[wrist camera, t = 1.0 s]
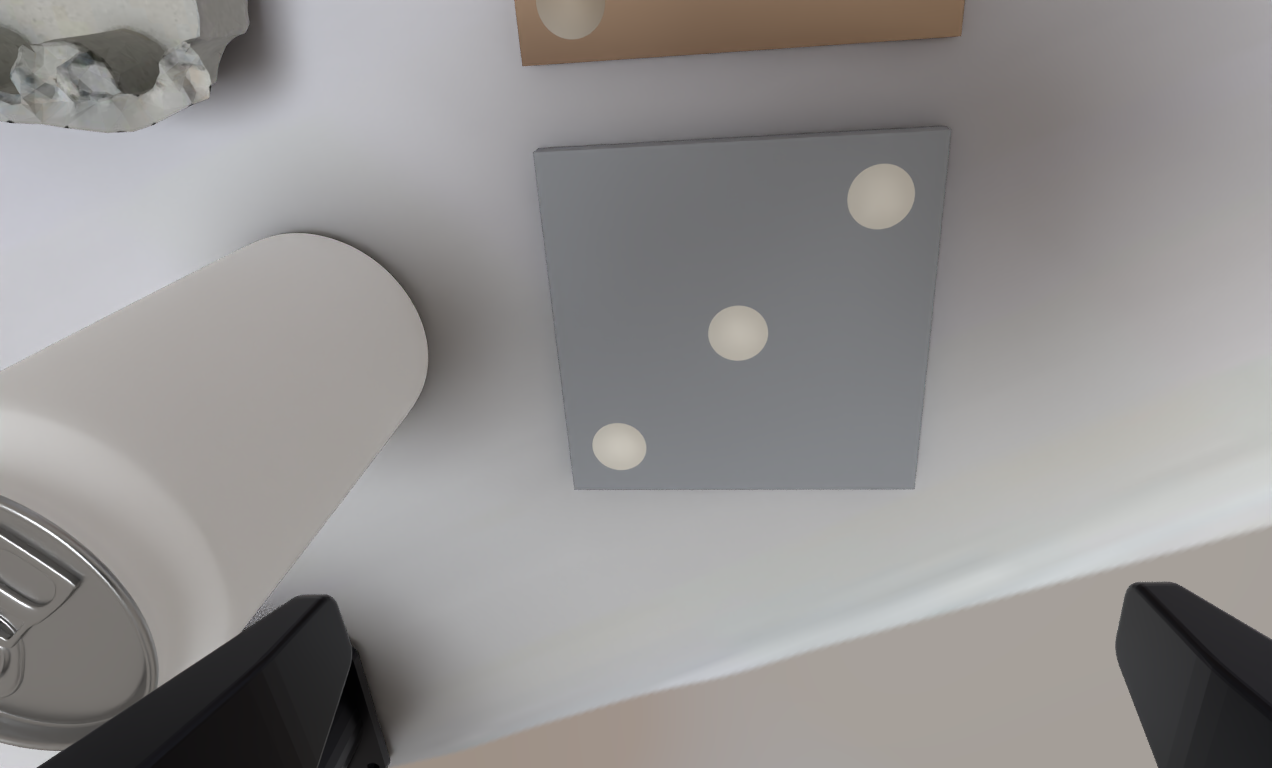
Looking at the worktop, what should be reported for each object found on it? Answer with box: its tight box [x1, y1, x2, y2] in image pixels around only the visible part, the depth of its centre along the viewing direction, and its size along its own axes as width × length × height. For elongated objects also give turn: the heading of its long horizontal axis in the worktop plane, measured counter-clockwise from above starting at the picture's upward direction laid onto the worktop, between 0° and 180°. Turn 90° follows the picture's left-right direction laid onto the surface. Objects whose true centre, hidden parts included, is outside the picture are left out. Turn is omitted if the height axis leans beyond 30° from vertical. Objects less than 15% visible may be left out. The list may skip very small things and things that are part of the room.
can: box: [0, 233, 428, 751], centre depth 18 cm, size 6×6×12 cm
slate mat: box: [533, 126, 951, 490], centre depth 21 cm, size 10×10×1 cm
